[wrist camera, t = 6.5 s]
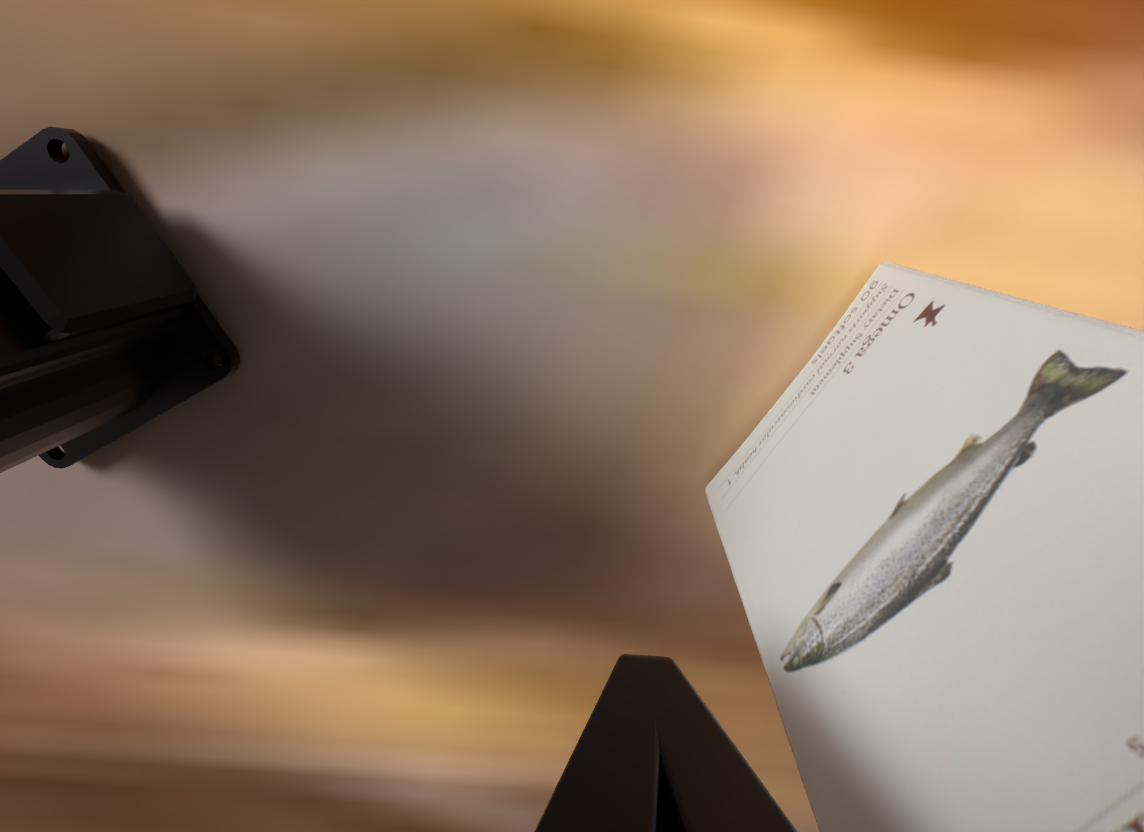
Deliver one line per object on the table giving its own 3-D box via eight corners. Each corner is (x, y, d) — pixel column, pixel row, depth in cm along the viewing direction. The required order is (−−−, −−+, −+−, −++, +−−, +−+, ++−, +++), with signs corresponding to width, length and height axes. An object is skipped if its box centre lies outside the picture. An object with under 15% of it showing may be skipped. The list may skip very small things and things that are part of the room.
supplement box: (878, 249, 14) (2163, 516, 3) (1105, 411, 16) (2741, 1123, 4) (691, 486, 17) (915, 1206, 5) (901, 613, 18) (1501, 1454, 6)
